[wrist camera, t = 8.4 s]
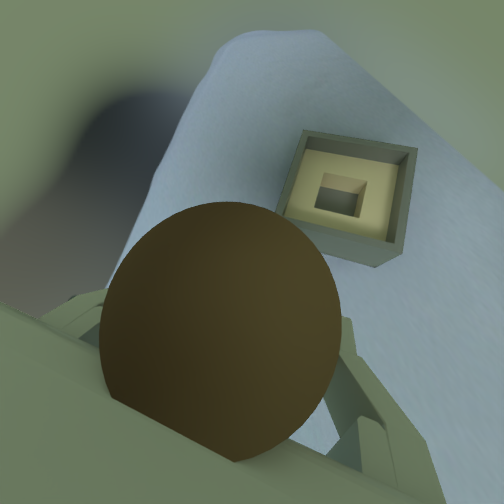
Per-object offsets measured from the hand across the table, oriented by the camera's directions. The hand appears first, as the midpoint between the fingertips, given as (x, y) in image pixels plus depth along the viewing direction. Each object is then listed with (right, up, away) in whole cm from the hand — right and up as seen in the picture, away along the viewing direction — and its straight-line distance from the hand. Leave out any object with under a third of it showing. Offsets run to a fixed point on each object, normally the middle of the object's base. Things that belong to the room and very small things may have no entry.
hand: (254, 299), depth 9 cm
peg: (+1, -3, +6) cm, 7 cm away
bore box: (+14, +9, +26) cm, 31 cm away
